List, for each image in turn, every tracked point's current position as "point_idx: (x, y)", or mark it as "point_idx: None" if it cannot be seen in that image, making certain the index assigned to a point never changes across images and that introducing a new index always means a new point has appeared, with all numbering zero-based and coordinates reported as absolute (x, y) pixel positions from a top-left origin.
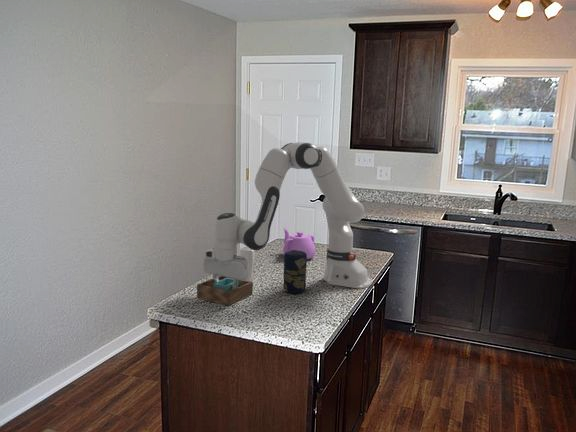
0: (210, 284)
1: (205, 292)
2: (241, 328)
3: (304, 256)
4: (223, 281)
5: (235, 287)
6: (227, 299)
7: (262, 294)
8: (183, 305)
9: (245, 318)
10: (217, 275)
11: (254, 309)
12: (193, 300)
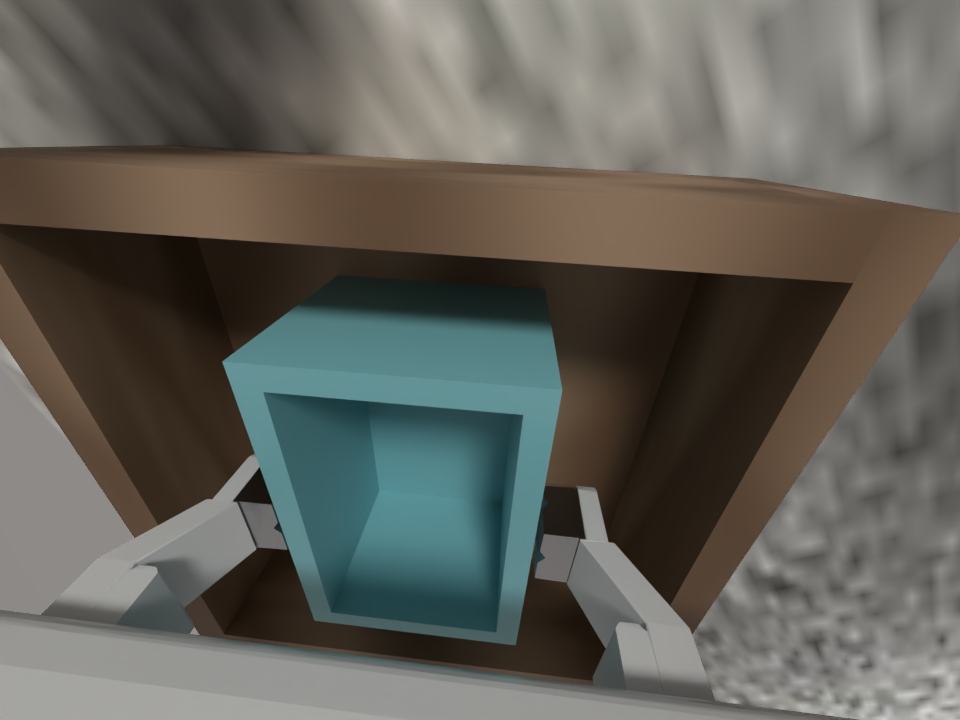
0: (201, 473)
1: None
2: (809, 712)
3: None
4: (306, 459)
5: (594, 502)
6: None
7: (952, 52)
8: None
9: (807, 645)
10: (163, 604)
11: (860, 535)
12: None
